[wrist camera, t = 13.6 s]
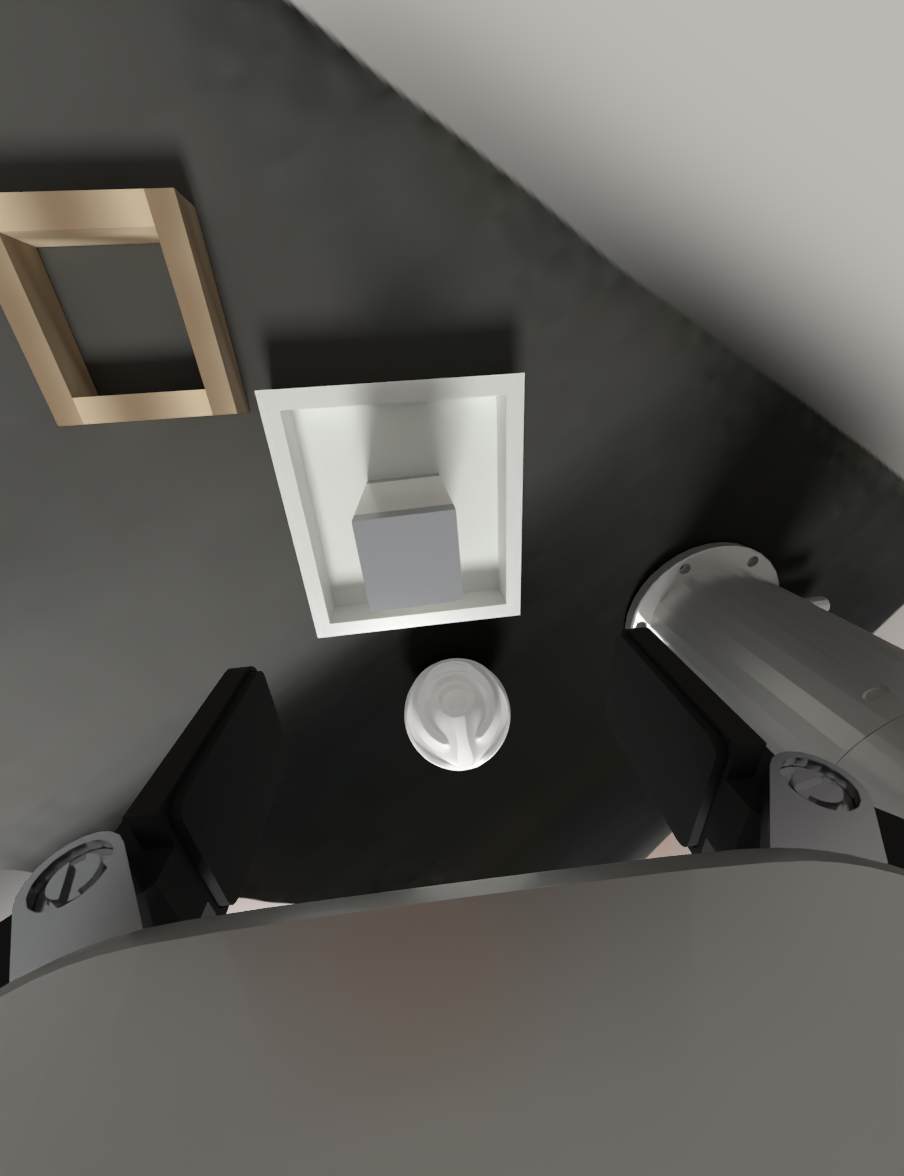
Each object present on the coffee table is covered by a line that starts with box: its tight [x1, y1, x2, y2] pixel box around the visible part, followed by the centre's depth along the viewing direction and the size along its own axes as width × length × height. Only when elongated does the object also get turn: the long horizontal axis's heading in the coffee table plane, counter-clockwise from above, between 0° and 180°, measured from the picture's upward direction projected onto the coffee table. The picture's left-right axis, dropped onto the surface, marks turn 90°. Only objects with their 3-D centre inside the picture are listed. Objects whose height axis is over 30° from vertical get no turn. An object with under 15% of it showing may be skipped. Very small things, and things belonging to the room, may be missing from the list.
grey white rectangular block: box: [352, 473, 463, 613], centre depth 22 cm, size 4×4×9 cm
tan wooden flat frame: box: [0, 188, 250, 426], centre depth 20 cm, size 9×9×2 cm
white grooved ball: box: [404, 658, 510, 771], centre depth 30 cm, size 8×8×8 cm
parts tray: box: [255, 373, 525, 638], centre depth 25 cm, size 14×15×3 cm
